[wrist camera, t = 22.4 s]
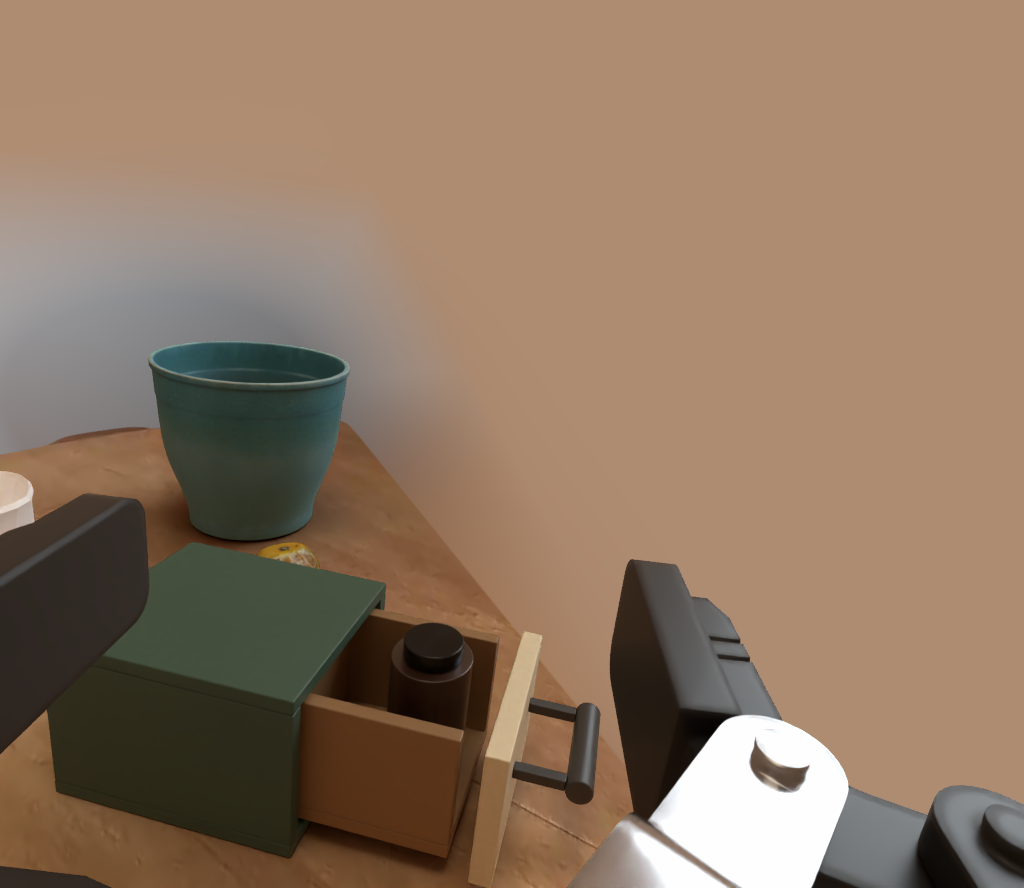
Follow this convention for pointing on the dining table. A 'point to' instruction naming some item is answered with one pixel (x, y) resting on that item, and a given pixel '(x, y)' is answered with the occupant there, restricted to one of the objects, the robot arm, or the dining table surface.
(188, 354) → the flower pot
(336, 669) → the drawer
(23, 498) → the cup
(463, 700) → the pepper mill
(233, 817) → the cabinet
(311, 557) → the fruit
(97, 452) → the dining table surface
